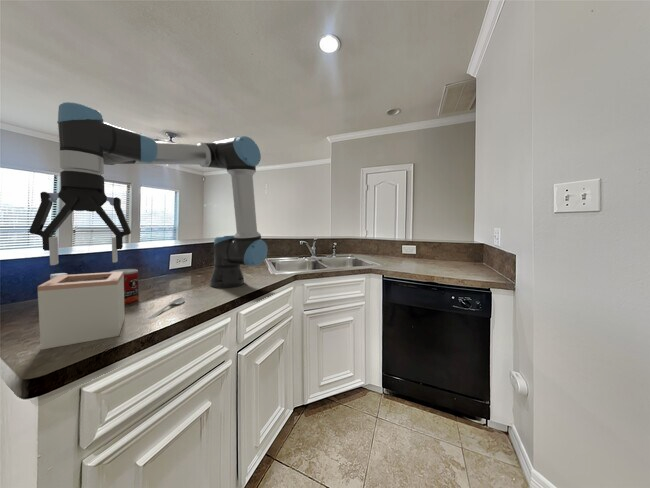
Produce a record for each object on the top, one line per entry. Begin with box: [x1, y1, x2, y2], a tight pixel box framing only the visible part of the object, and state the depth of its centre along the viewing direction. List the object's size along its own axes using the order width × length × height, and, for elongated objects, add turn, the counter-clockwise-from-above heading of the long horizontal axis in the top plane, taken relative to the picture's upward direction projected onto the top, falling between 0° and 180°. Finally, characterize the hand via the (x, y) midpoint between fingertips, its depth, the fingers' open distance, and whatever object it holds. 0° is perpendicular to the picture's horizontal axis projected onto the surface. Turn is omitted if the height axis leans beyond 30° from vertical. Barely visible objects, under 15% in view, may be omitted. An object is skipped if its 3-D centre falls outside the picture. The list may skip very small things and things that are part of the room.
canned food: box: [110, 268, 140, 305], centre depth 85 cm, size 8×8×11 cm
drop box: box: [37, 271, 126, 350], centre depth 61 cm, size 13×13×14 cm
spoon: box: [147, 297, 185, 320], centre depth 78 cm, size 4×21×2 cm, turn 3°
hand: (86, 263), depth 60 cm, fingers open, 10 cm apart
